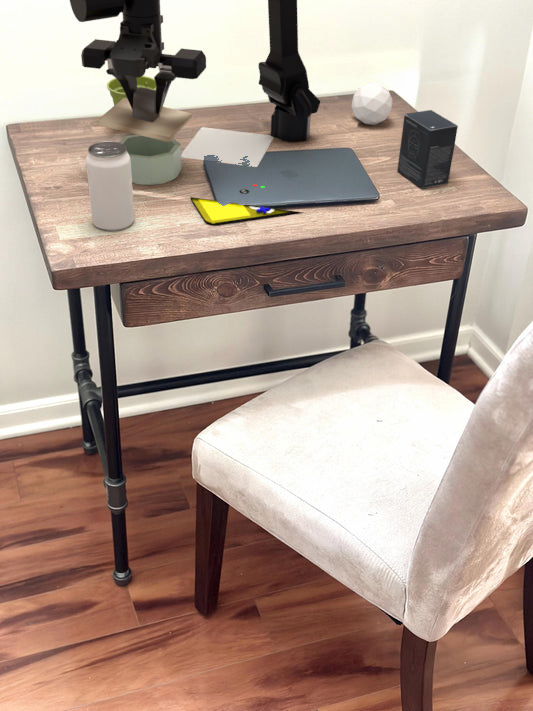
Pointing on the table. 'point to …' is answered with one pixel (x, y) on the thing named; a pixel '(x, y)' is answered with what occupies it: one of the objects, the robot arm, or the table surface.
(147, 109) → the lid
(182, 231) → the table surface
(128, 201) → the can
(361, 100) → the geometric ball
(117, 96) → the plant pot
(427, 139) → the box
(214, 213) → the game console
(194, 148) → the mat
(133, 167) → the bowl
